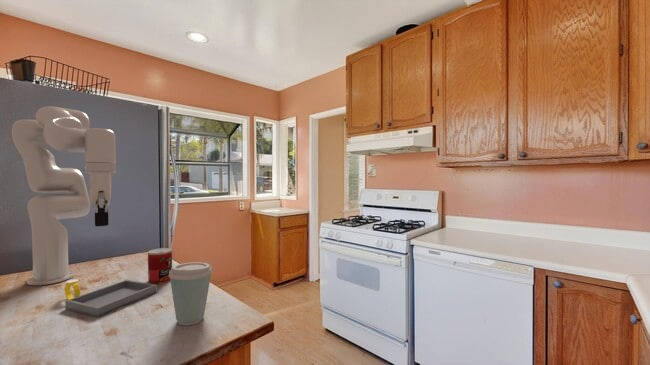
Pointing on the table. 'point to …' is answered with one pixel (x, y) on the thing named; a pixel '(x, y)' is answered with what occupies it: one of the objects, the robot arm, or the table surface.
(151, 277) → the canned food
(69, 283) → the watch
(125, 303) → the tray
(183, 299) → the disposable coffee cup
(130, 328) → the table surface
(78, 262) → the table surface
